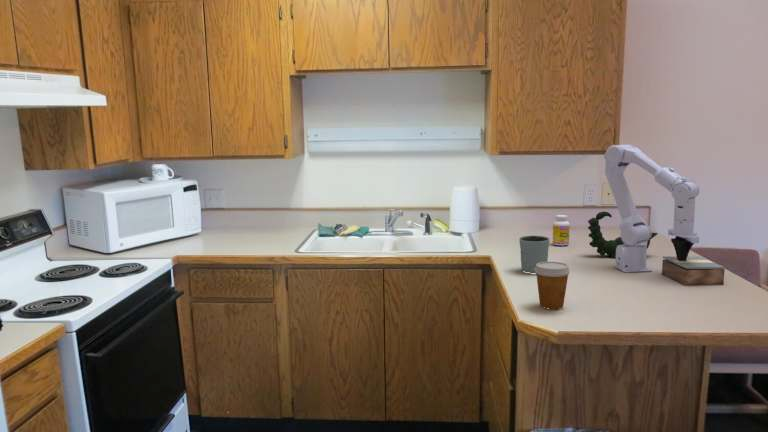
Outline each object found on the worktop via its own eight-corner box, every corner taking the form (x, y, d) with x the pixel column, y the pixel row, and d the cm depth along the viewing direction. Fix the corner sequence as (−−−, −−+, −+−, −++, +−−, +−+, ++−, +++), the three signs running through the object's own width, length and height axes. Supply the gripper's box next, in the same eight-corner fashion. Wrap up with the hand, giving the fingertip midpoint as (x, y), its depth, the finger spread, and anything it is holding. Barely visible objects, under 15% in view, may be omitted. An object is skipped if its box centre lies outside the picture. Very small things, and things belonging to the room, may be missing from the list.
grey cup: (548, 268, 192) (549, 235, 191) (549, 276, 183) (549, 241, 181) (519, 267, 195) (519, 235, 193) (518, 274, 186) (519, 240, 184)
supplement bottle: (558, 247, 225) (559, 217, 223) (549, 244, 232) (550, 215, 230) (572, 246, 227) (573, 216, 225) (563, 243, 233) (563, 214, 231)
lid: (686, 268, 166) (686, 266, 166) (662, 258, 180) (662, 256, 180) (724, 268, 166) (724, 266, 166) (698, 258, 180) (698, 256, 180)
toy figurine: (595, 264, 203) (663, 257, 201) (591, 215, 200) (661, 207, 198) (587, 258, 213) (653, 251, 210) (584, 211, 210) (651, 204, 207)
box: (685, 285, 167) (685, 270, 166) (661, 273, 181) (662, 259, 180) (723, 284, 167) (724, 269, 166) (697, 272, 181) (698, 258, 180)
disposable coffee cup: (562, 300, 157) (562, 260, 155) (574, 311, 147) (575, 268, 145) (529, 301, 156) (530, 261, 154) (540, 312, 147) (540, 270, 145)
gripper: (710, 222, 165) (707, 265, 167) (683, 215, 179) (681, 255, 181) (687, 223, 165) (684, 266, 167) (662, 216, 179) (660, 255, 181)
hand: (681, 260), depth 174 cm, fingers closed, pressing on lid
